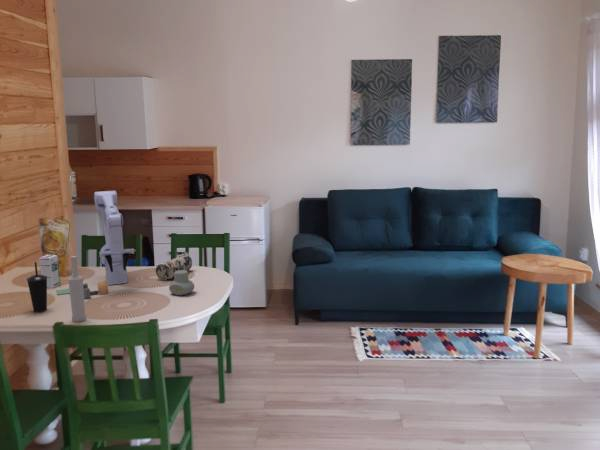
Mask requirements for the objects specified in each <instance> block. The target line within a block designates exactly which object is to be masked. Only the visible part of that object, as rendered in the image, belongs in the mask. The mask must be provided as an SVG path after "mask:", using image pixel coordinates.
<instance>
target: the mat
mask: <svg viewBox="0 0 600 450" xmlns="http://www.w3.org/2000/svg"><path fill="white" fill-rule="evenodd" d="M68 294H69V295H70V289H69V288H64V289H56V296H62V295H68Z"/></svg>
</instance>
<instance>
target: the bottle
mask: <svg viewBox="0 0 600 450" xmlns="http://www.w3.org/2000/svg"><path fill="white" fill-rule="evenodd" d="M77 257H78V256H76V255H71V256H70V263H71V270H72V272H71V276H70V277H69V278H68V280H67V281H68V289H70V294H69V297H70V306H71V307H70V308H71V314H72V315H71V320H72V322H75V323H77V322H78V323H80V322H84V321H85V320H86V318H87V315H86V314H87V313H85V312H86V307H85V299H84V290H83V284H84V279H83V276H82V275H80V272H78V271H79V269H78V258H77Z"/></svg>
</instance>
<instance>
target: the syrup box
mask: <svg viewBox="0 0 600 450" xmlns="http://www.w3.org/2000/svg"><path fill="white" fill-rule="evenodd" d="M39 267H40V275H44V276H47V277H48V278H47V289H48V288H49V289H54V288H56V287H58V286H61V284H62V283H61V277H60V274H59V264H58V255H46V256H43V257H42V256H41V257H40V256H39Z"/></svg>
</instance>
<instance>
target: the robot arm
mask: <svg viewBox="0 0 600 450" xmlns="http://www.w3.org/2000/svg"><path fill="white" fill-rule="evenodd" d="M93 200H94V207H95V210H96V211H98V212H100V214H101V218H102V226H103V233H104V238H105V244H104V245H103V246H102V247H101V249H100V251H99V258H101V260H100V261H101V264H102V265H104V267H105V279H106V280H104V281H107V284H108V286H113V285H114V286H115V285H121V284H127V283H129V282H128V270H127V265H128V261H129V259H130V255H131V254H135V250H134V249H135V248H124V238H123V237H124V236H123V225H124V217H123V215H122V213H120V212H119V209H118V207H117V205H118V193H117V191H116V190H104V191H95V192H94V193H93Z"/></svg>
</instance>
